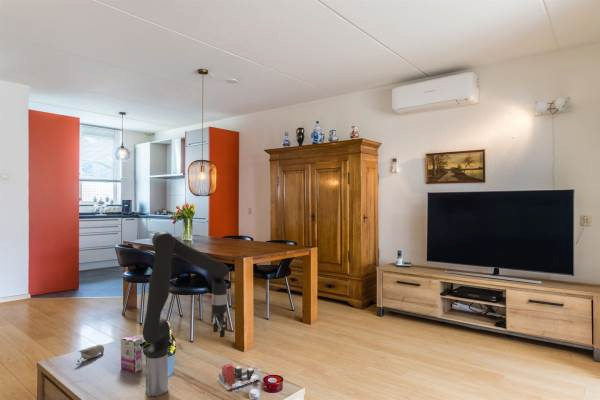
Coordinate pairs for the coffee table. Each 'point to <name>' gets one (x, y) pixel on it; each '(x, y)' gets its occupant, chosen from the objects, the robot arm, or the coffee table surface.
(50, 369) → the coffee table surface
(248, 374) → the toggle
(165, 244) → the robot arm
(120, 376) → the coffee table surface
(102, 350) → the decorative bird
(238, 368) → the toggle
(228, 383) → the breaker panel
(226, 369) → the cap
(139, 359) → the candy bar box
